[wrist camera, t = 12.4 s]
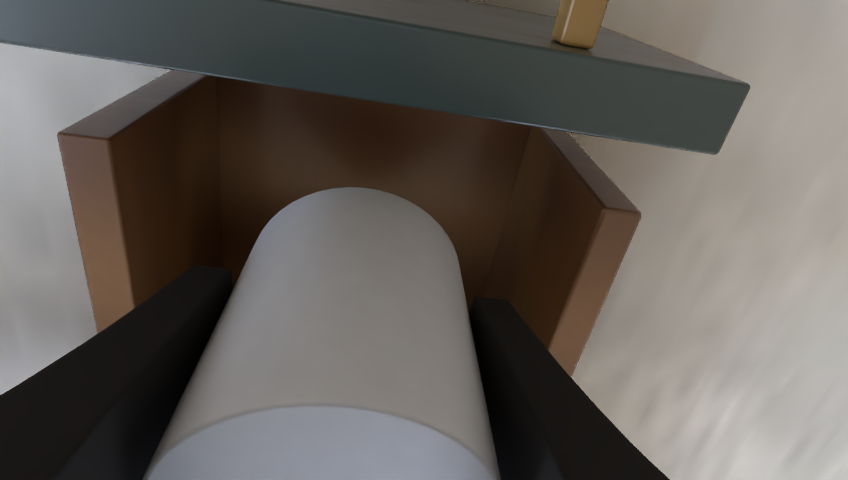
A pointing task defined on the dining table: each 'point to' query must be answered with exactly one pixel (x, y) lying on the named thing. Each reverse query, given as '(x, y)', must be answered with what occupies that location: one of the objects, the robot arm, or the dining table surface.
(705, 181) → the dining table surface
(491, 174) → the drawer
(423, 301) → the paper towel roll
